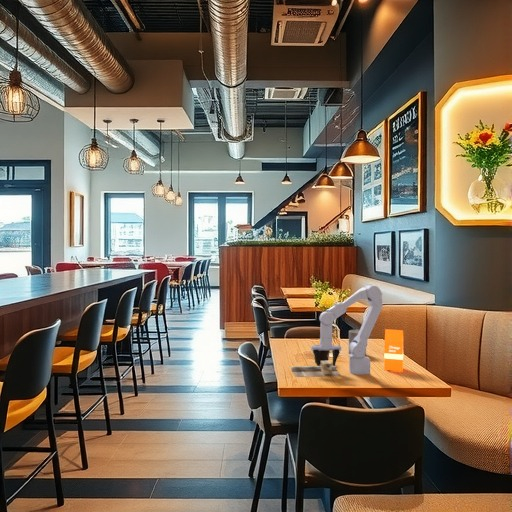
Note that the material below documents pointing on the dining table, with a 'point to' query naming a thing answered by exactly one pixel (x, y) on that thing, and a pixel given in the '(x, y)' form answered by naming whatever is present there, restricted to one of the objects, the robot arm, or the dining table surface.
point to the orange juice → (393, 350)
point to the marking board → (312, 371)
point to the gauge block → (326, 367)
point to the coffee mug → (323, 355)
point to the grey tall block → (352, 336)
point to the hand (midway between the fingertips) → (325, 365)
